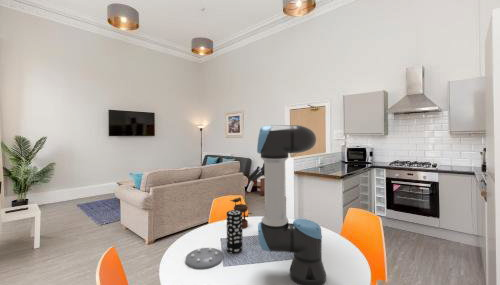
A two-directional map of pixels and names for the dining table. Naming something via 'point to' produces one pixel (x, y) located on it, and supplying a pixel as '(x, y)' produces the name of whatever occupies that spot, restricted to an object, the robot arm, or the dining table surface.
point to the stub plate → (204, 258)
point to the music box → (242, 208)
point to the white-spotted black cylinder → (234, 232)
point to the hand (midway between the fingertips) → (257, 194)
